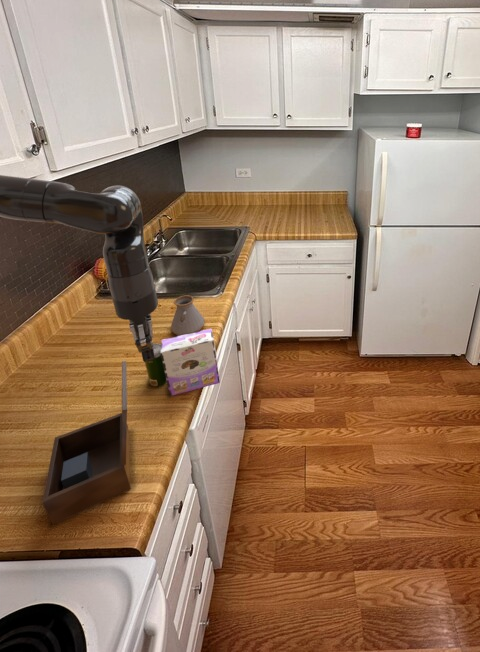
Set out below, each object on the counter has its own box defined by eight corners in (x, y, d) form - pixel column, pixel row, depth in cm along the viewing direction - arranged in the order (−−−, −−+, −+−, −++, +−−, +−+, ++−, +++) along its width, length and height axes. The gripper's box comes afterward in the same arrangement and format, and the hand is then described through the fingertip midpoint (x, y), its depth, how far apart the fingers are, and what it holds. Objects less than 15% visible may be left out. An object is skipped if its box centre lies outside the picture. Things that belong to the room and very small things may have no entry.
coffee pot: (172, 323, 124) (166, 289, 118) (205, 317, 127) (200, 284, 122) (168, 364, 105) (161, 325, 100) (206, 356, 109) (201, 318, 103)
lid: (122, 410, 64) (127, 409, 64) (122, 361, 76) (126, 360, 76) (121, 466, 68) (126, 464, 68) (121, 411, 80) (125, 410, 80)
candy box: (218, 370, 103) (212, 327, 97) (220, 385, 98) (214, 340, 91) (170, 383, 98) (161, 338, 92) (169, 398, 93) (159, 352, 87)
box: (53, 527, 65) (41, 502, 62) (64, 460, 77) (54, 437, 74) (131, 490, 71) (124, 466, 68) (130, 434, 83) (123, 412, 80)
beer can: (165, 388, 96) (158, 356, 92) (146, 388, 96) (138, 356, 92) (172, 374, 101) (166, 343, 97) (155, 374, 101) (148, 342, 97)
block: (66, 494, 70) (60, 480, 68) (68, 475, 73) (63, 461, 72) (91, 483, 72) (86, 469, 70) (92, 465, 75) (87, 452, 74)
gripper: (112, 278, 68) (128, 345, 75) (110, 312, 57) (130, 387, 64) (152, 270, 72) (164, 335, 78) (157, 301, 61) (171, 373, 67)
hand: (149, 358), depth 71 cm, fingers closed
